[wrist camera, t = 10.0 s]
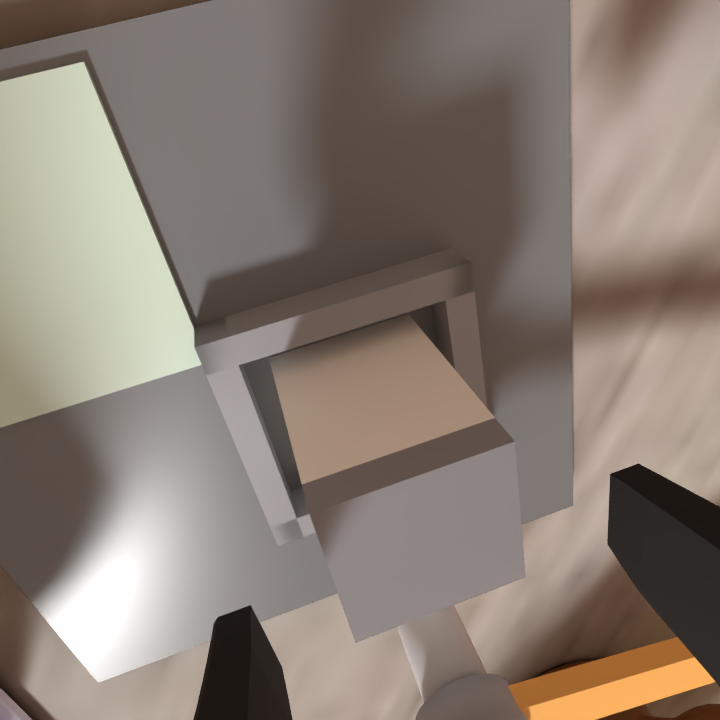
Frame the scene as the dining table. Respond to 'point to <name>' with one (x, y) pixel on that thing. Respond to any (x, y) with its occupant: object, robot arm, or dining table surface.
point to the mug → (706, 716)
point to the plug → (400, 474)
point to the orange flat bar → (573, 688)
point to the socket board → (262, 288)
